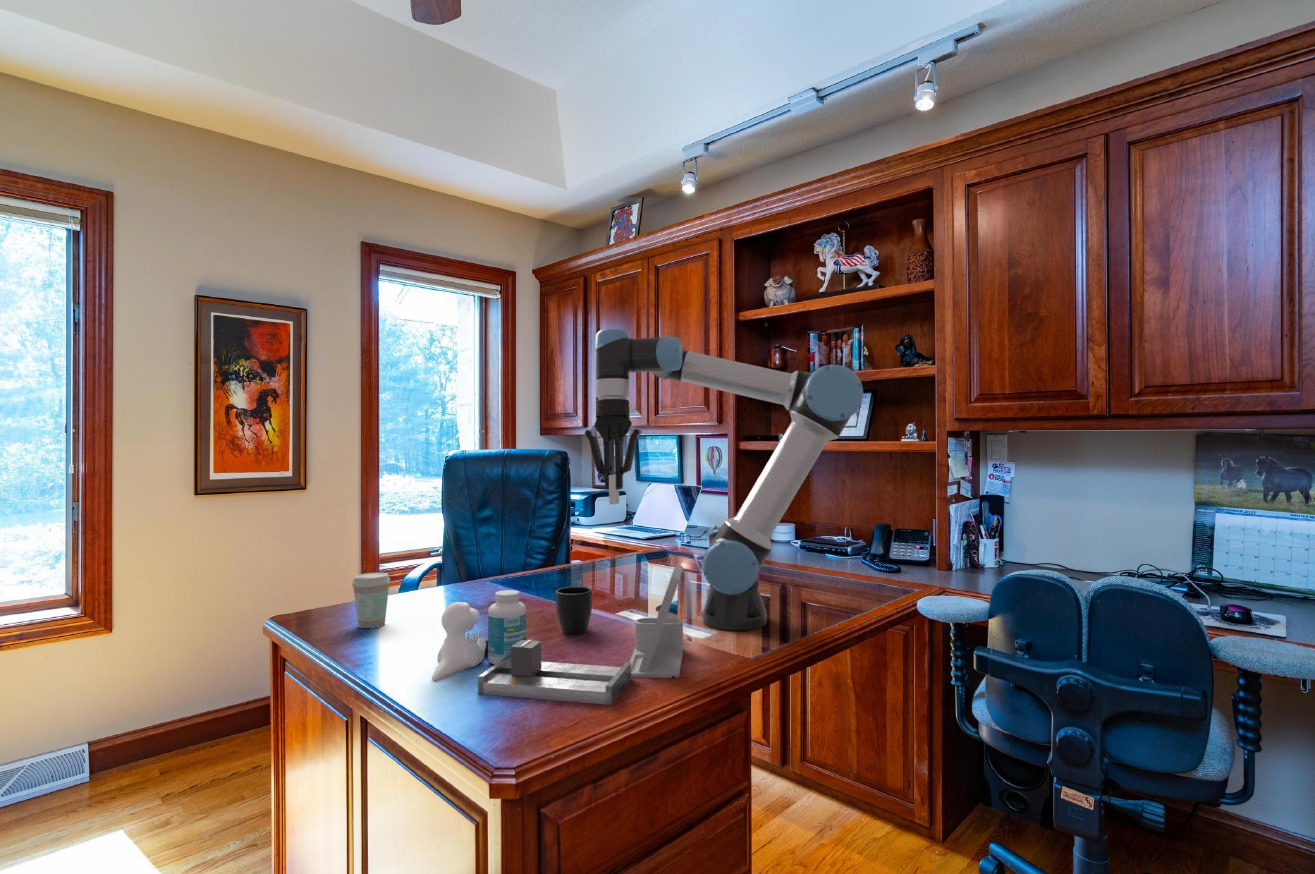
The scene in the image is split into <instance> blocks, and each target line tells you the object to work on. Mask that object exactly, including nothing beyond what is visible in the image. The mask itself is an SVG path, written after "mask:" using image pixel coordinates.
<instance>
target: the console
mask: <svg viewBox="0 0 1315 874" xmlns="http://www.w3.org/2000/svg"><path fill="white" fill-rule="evenodd" d="M631 680H632V677H631V662H630V661H625V663H624V664H623V665H621V666H612V665H611V666H610V665H609V666H608V665H598V664H597V665H596V664H583V663H582V664H580V663H579V664H578V663H568V662H567V663H566V662H554V661H541V670H539V671H538V672H537V675H536V676H532V677H530V676H516V675H511V654H509V655H508V656H506V657H505V658H504V659H502V660H501V661H499V662H498V663H496V664H493V665H492V666H491V667H488V669H486V670H485V671H483V672H482V673H481V674H479V675H478V676H477V686H478V687H477V688H478V689H477V693H478V695H488V696H499V697H500V696H502V697H511V698H513V697H514V698H524V699H535V700H545V701H546V700H547V701H548V700H549V701H558V702H559V701H560V702H573V703H583V704H585V703H586V704H593V705H594V704H597V705H607V706H612V705H613V703H614V702H615V701H616V700H617V699H618V698H619V696H620V695H621V694H622V692H623V691H624V690H625V688H626V687H627V686H628V684H629V683H630V681H631Z"/></svg>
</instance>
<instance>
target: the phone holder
mask: <svg viewBox="0 0 1315 874" xmlns="http://www.w3.org/2000/svg"><path fill="white" fill-rule="evenodd" d="M683 568H684V566H683V565H682V564H681V565H680V564H677V563H675V565H674V568H673V571H672V573H671V576H670V579H669V582H668V585H667V587H666V591H665V593H664V596H663V599H662V603H661V605H660V608H659V611H658V614H657V617H642V618H639V619H636V620H635V622H634V625H635V627H634V628H635V630H634V631H635V632H634V633H635V637H634V638H635V639H634V640H635V647H634V649H633V651H632V653H631V654H632V655H631V657H630V659H629V662H631V678H659V679H662V678H663V679H667V678H668V679H669V678H670V679H671V678H672V677H675V678H679V676H680V674H681V666H682V662H683V655H684V624H683V623H684V622H683V620H682V619H679V618H674V617H673V618H672V617H668V614H669V611H670V608H671V605H672V602H673V599H674V597H675V594H676V591H677V587H678V585H679V582H680V579H681V575H682V572H683Z"/></svg>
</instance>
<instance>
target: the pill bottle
mask: <svg viewBox="0 0 1315 874" xmlns="http://www.w3.org/2000/svg"><path fill="white" fill-rule="evenodd" d="M494 599H495V601H496V602H494V603H492V604H491V605H490V606H489V608H488V611H487V641H488V656H487V660H488V662H489V663H491V664H493V665H495V664H496V663H498V662H499V661H501V660H502V659H504V658H505V657H506V656H508V655H509V654H511V646H513V645H514V644H516V643H517V642H518V641H520V640H527V606H526V604H525V603H523V602H521V601H519V599H520V591H518V590H515V589H507V590H506V589H505V590H499V591H496V592H495V593H494Z"/></svg>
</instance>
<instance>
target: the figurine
mask: <svg viewBox="0 0 1315 874" xmlns="http://www.w3.org/2000/svg"><path fill="white" fill-rule="evenodd" d="M479 613H480V612H479V611H478V610H477V609H476V608H473V607H471V606H470V604H469V603H467V602H465V601H463V602H462V601H461V602H460V601H456V602H452V603H450V604H449V605H448V606H447V607H446V608H445V610H444V611H443V614H442V616H441V625H442V628H443V629H444V631H445V633H446V637H445V638H444V640H443V644H442V645H441V647H440V649H439V651H438V653H437V658H436V659H437V663H438V665H437V667H436V668H435V670H434V672H433V674H432V676H431V681H433V682H436V681H439V680H441V679H443V678H447V677H450V676H451V675H453V674H455V673H458V672H460V671H463V670H466V669H471V668H474V667H476V666H477V665H478V664H480V663H481V662H482V661H483V660H484V659H486V658H488V640H486V639H485V638H484V635H483V634H482V630H480V632H478V631H476V632H471V634H470V632H469V631H471V630H473V628H474V626H476V625H477V624H478V622H479V619H480V614H479ZM466 633H467V634H466Z"/></svg>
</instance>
